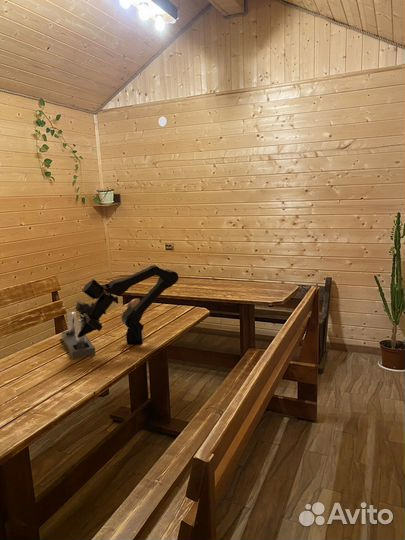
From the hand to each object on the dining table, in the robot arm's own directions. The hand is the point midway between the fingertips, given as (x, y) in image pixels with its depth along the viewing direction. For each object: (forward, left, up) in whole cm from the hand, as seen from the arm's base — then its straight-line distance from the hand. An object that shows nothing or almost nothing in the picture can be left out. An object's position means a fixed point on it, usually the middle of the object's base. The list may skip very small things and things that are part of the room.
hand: (77, 335), depth 162 cm
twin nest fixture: (+3, -9, -8) cm, 12 cm away
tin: (-17, -52, -8) cm, 56 cm away
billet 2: (-1, -1, -7) cm, 7 cm away
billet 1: (+6, -17, -8) cm, 20 cm away
